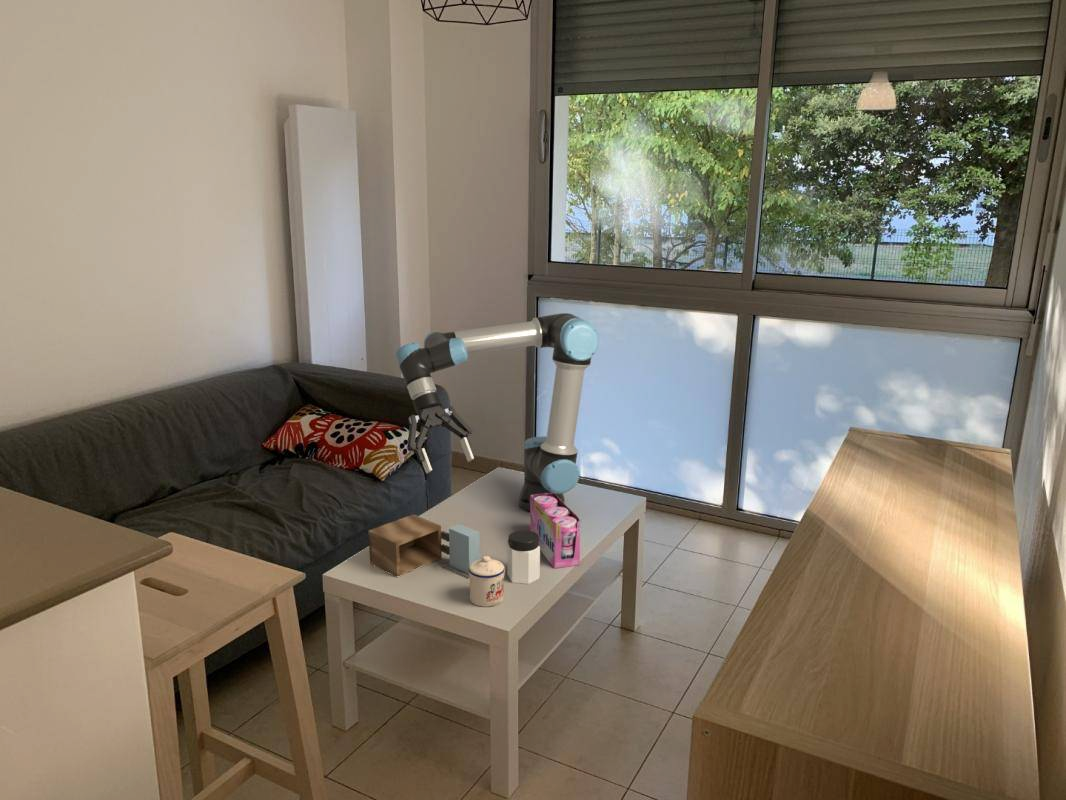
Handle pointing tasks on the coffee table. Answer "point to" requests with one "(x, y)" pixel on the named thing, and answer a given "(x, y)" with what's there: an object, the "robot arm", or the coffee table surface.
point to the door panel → (463, 547)
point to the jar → (523, 557)
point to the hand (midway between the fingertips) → (450, 466)
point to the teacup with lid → (486, 582)
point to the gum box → (555, 529)
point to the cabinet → (408, 545)
